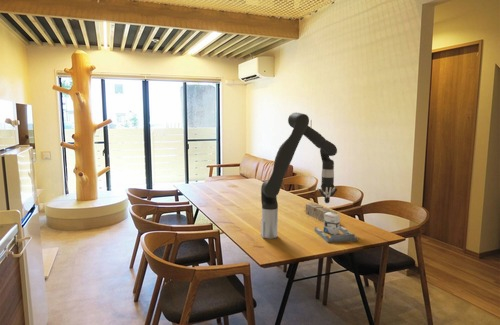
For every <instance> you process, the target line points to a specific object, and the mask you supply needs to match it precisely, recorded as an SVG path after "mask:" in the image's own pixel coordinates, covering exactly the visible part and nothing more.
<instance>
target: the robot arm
mask: <svg viewBox="0 0 500 325" xmlns="http://www.w3.org/2000/svg"><path fill="white" fill-rule="evenodd" d="M287 118H288V119H287V123H288V125H289V126H290V127H291V128H292V131H291V134H289V136H288V138H286V140H285V141H284V142H283V143H282V144H281V145H280V146H279V148H278V151H277V152H276V155H275V156H274V157H275V158H274V160H273V161H274V163H273V169H272V173H271V175H270V177H269V179H266V180H264V181H263V183H262V184H261V187H260V188H261V189H260V190H261V191H260V193H261V194H260V195H261V196H260V197H261V198H260V199H261V200H260V201H261V219H260V220H261V222H260V236H261V238H262V239H269V240H270V239H271V240H273V239H276V238H278V227H279V226H278V221H279V220H278V219H279V218H278V217H279V216H278V215H279V214H278V213H279V211H278V209H279V208H278V207H279V203H278V200H277V198H278V197H277V196H278V195H279V193H280V190H281V187H282V184H283V181H284V178H285V175H286V173H287V172H288V170H289V167H290V165H291V163H292V160H293V158H294V155H295V153H296V151H297V149H298V146H299V144H300V142H301V139H302V138H303V136H304V137H305V138H306V139H308V140H309V141H310V142H311V143H312V144H313V145H314V146H315V147H316V148H317V149H319V153H320V157H321V163H322V169H321V184H320V186H319V188H317V191H318V193H319V194H320V195H321V196H322V197H324V203H325V204H329V203H330V198H331V197H333V196H334V195H335V194H336V192H337V191H338V188H337V187H335V184H334V182H335V180H334V179H335V171H334V170H335V168H334V167H335V163H334V160H333V159H331V158H330V157H334V156H336V154H337V153H338V148H337V146H336V145H335V143H332V142H331V141H329V140H328V139H326V138H325V137H324V136H323V135H322V134H321V133H320V132H318V130H317V131H316V130H315V129H314V128H312V127H311V126H310V125H309V124H310V118H309V116H308V114H305V113H302V112H293V113H290V115H289V116H288V117H287Z"/></svg>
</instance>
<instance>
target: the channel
mask: <svg viewBox="0 0 500 325" xmlns="http://www.w3.org/2000/svg"><path fill="white" fill-rule="evenodd" d="M313 230H314V232H315V233H317V235H319V237H321V238H322V239H323V240H324V241H325V242H326V243H346V242H358V240H359V239H358V238H359V237H358V236H357V235H355V233H353V232H351V231H349V230H348V229H347V228H346V227H344V226H342V225H340V228H339V232H341V233H342V234H341V233H340V234H336V235H333V234H330V237H329V236H328V235H327V234H326V232H324V231H323V230H322V229H320V228H319V227H317V226H316V227H314V229H313Z"/></svg>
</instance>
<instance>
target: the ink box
mask: <svg viewBox="0 0 500 325" xmlns="http://www.w3.org/2000/svg"><path fill="white" fill-rule="evenodd" d="M340 224H341V215H340V214H339V213H337V214H335V213H331V212H327V213H325V214H324V222H323V232H324V233H325V234H326V233H327V234H330V235H340V230H339V228H340V226H341V225H340Z"/></svg>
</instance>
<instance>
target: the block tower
mask: <svg viewBox="0 0 500 325" xmlns="http://www.w3.org/2000/svg"><path fill="white" fill-rule="evenodd" d="M327 212H331V213H335V214H338V212H337V211H336V210H332V209H330V208H327V207H324V206H322V205H319V203H315V202H307V203H305V215H308V216H309V217H312V218H314V219H315V218H316V220H317V219H318V221H320V222H322V223H324V214H325V213H327Z"/></svg>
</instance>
